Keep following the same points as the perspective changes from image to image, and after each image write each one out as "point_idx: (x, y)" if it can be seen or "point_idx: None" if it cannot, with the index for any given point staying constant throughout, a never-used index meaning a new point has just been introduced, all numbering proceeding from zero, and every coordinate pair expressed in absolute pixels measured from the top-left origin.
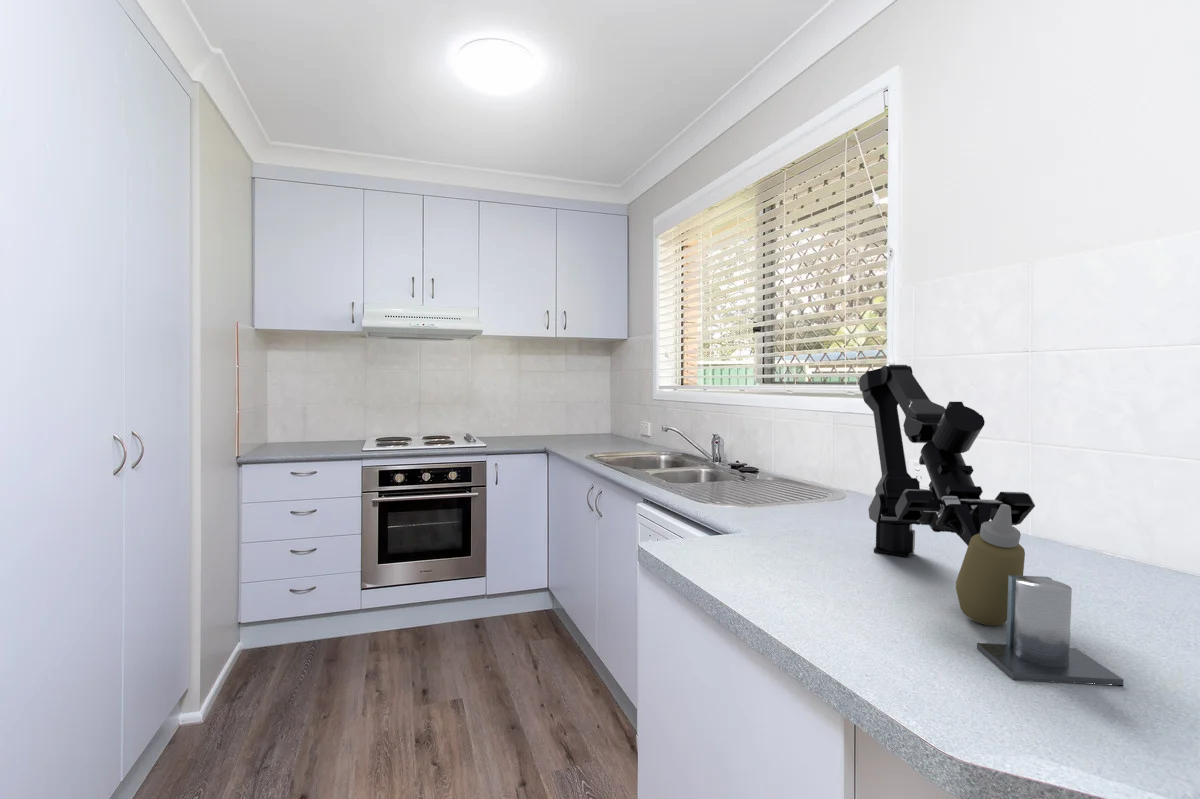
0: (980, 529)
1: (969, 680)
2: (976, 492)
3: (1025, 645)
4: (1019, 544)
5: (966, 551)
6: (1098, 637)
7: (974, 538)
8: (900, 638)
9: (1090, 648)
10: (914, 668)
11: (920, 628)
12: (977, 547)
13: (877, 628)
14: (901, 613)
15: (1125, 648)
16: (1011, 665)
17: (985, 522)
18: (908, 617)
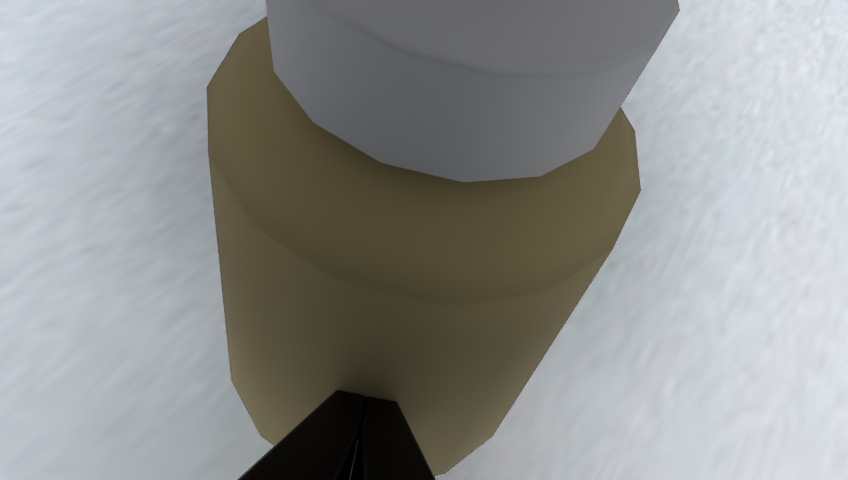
0: (617, 110)
1: (685, 8)
2: None
3: None
4: (264, 25)
5: (561, 328)
6: (48, 182)
7: (613, 192)
8: (764, 238)
9: (179, 114)
10: (792, 72)
11: (664, 307)
12: (625, 115)
13: (813, 318)
14: (674, 455)
15: (50, 101)
16: None
17: (594, 46)
18: (664, 411)
